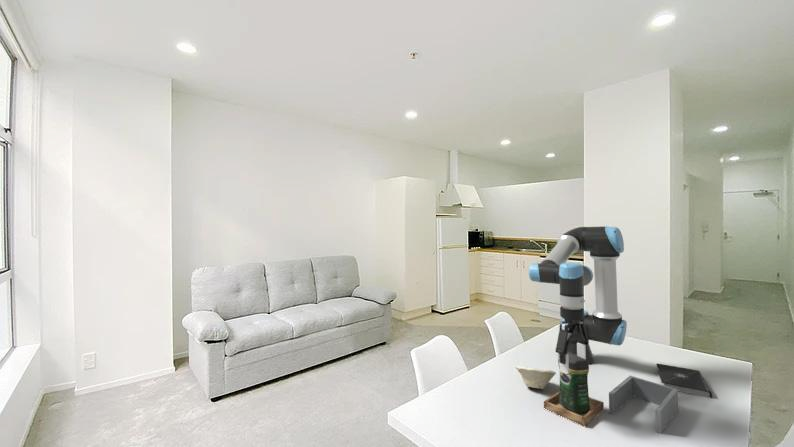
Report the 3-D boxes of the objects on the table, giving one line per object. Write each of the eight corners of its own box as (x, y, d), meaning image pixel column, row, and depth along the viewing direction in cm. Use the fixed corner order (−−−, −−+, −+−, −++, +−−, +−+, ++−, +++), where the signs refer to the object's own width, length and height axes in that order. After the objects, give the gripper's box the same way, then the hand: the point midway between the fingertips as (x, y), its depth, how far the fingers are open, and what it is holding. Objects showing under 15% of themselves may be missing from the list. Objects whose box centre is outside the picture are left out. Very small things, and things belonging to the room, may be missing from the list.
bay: (609, 413, 114) (608, 392, 114) (630, 393, 127) (630, 375, 127) (661, 433, 103) (660, 410, 103) (678, 409, 116) (678, 389, 116)
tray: (543, 409, 117) (543, 401, 117) (564, 394, 127) (564, 387, 127) (584, 426, 106) (584, 418, 106) (603, 410, 116) (603, 402, 116)
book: (712, 400, 123) (712, 392, 123) (661, 389, 131) (661, 382, 131) (700, 377, 141) (700, 370, 141) (656, 369, 149) (656, 363, 149)
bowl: (555, 383, 136) (555, 359, 136) (556, 399, 124) (555, 372, 124) (517, 376, 143) (517, 353, 143) (514, 391, 130) (513, 366, 130)
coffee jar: (594, 413, 113) (593, 358, 113) (575, 416, 111) (574, 361, 111) (572, 399, 123) (571, 348, 123) (554, 402, 120) (553, 351, 121)
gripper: (566, 315, 106) (567, 381, 106) (597, 303, 122) (598, 360, 122) (543, 311, 112) (545, 373, 112) (576, 299, 128) (577, 354, 128)
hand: (573, 366), depth 117 cm, fingers open, 13 cm apart
